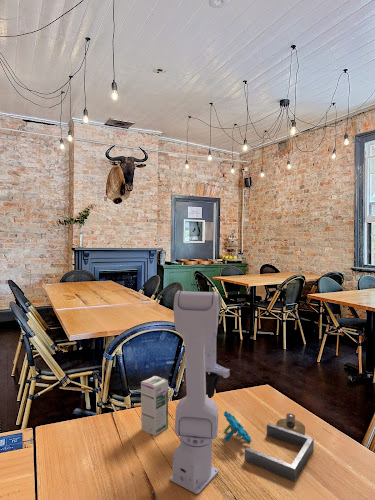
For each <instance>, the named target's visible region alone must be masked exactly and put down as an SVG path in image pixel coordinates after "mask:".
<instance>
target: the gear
mask: <svg viewBox="0 0 375 500" xmlns="http://www.w3.org/2000/svg"><path fill="white" fill-rule="evenodd" d="M223 416H224V417H225V419H226V421H227V422H228V425H227V427H225V429H224V430H223V431H224V432H225V433H227V432H228V431H229V430H230V431H229V432H228V433H227V434H226V435H225V436H224V438H223V439H224V441H226V442H228V440H230V438H231V437H232V436H233V435H235V434H237V435H238V436H239V437H240V438H241V437H242V440H244V441H245V442H246V443H248V444H250V443H251V442H252V438H251V436H250V435H249V433H248V431H246V430H245V429H244V426H243V425H242V424H241V423H240V422H239V420H238V419H237V418H236V417H235V415H233V414H232V413H230V412H228V411H227V410H225V411H224V412H223Z"/></svg>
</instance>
